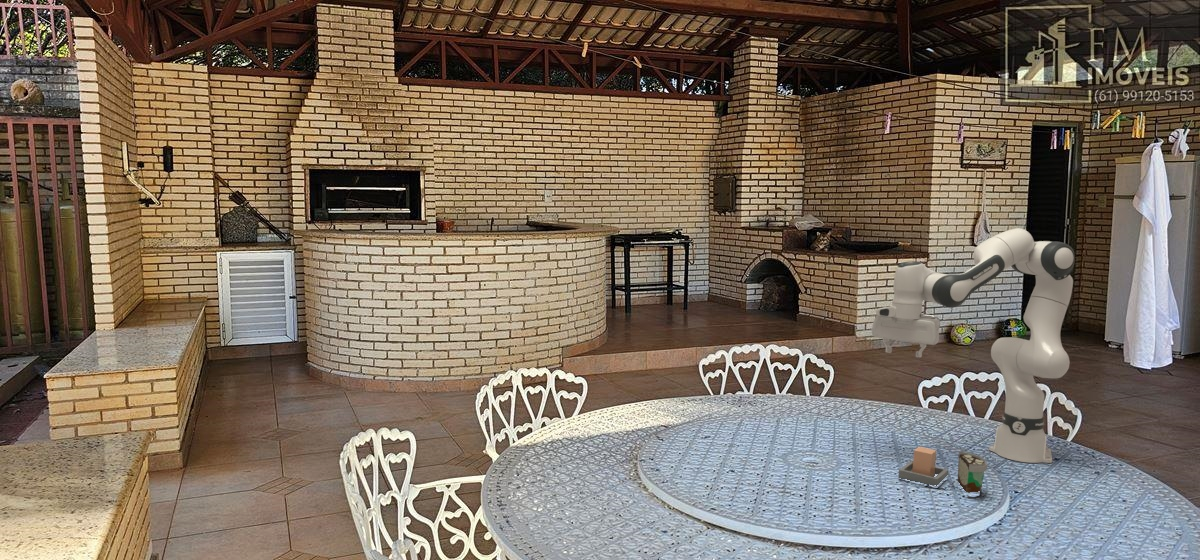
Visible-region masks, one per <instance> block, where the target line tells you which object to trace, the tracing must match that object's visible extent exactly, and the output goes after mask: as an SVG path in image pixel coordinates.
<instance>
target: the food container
mask: <svg viewBox="0 0 1200 560" xmlns="http://www.w3.org/2000/svg"><path fill="white" fill-rule="evenodd" d="M957 458H958V463H957V464H958V465H957V481H958V482H959V483H960V485H961V486H962V487H963V489H964V490H965V491H966V492H968V493H970V492H978V491H980V490H981V491H982V486H983V482H984V476H985V474H984V473H985V472H986V471H987V470H988V464H987V461H986V459H985V458H984V457H982V456H979V455H977V454H974V453H971V452H965V451H958V456H957Z"/></svg>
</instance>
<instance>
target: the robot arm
mask: <svg viewBox="0 0 1200 560" xmlns="http://www.w3.org/2000/svg"><path fill="white" fill-rule="evenodd" d="M1075 257H1076V256H1075V251H1074V249H1073V247H1071V245H1069V244H1067V243H1065V242H1061V241H1050V240H1043V241H1042V240H1039V241H1035V240H1034V238H1033V236H1032V234H1031V233H1030V232H1029V231H1027V230H1026V229H1024V228H1021V227H1019V228H1018V227H1017V228H1016V227H1015V228H1011V229H1008V230H1005V231H1003V232H999V233H997V234H995V235H993V236H991V237H989V238H988V239H985V240H983V241H982V242H980V243H979V244H978V245H977V246H976V247H975V248H974V250H973V261H974V264H975V265H974V266H972V267H970V268H969V269H968V270H966V271H964V272H963V273H960V274H947V273H941V272H937V271H935V270H932V269H930V268H928V267H927V266H926V265H925V264H923V262H922V261H918V260H917V261H916V260H913V261H911V260H910V261H904V262H901V263H899V264H898V265H897V267H896V268H895V272H894V278H893V293H894V294H893V299H892V302H891V303H892V304H891V305H887V306H884V307H879V308H877V309H876V312H875V313H876V316H875V317H874V319H873V323H872V327H871V335H872V336H873V338H878V339H882V343H883V345H884V347H885V353H888V354H892V352H893V347H892V346H890V345H889V342H890V340H894V341H901V342H908V343H914V344H919V350H917V351H915V358H922V357H923V352H924V350H925V349H926V348H927V345H930V346H931V345H932V346H935V345H937V344H938V343H939V341H940V334H939V333H940V331H939V329H940V327H941V320H940V318H939V317H938V316H936V315H934V314H932V315H930V314H926V313H923V312H922V311H923V310H922V309H923V302H924V301H926V302H930V303H934V304H937V305H941V306H944V307H946V308H951V309H952V308H957V307H959V306H961V305H963V304H964V303H965V302H966V301H967V300H968V298H969V297H970V296H971V295H972V294H973V292H975V291H977V290H978V289H980V288H981V287H982V286H985V285H987V283H989V282H990V281H992V280H993V279H995V278H996V277H998V276H1000V274H1001V273H1002V272H1003V271H1005V270H1006V269H1008V268H1011V269H1013V271H1015V272H1017V273H1020V274H1024V275H1034V276H1035V286H1034V287H1033V290H1032V293H1031V294H1030V297H1029V301H1028V303H1027V306H1026V308H1025V312H1024V314H1023V317H1022V318H1023V322H1024V323H1025V324H1026V326H1027V327H1028V328H1029V329H1030V337H1029V339H1025V338H1020V337H1010V336H1009V337H1008V336H1007V337H1000V338H998V339H996V340H995V341H994V342H993V344H992V345H991V349H990V356H991V360H992V361H993V362H994V363H995V364H996V366H997V367H998V369H999V371H1000V373H1001V375H1002V377H1003V382H1004V386H1005V404H1004V411H1003V412H1002V416H1001V417H1002V419H1001V420H1002V423H1001V424H1000V425H998V426H997V427H996V431H995V432H996V433H995V439H994V444H993V445H990V446H989V447H988V450H989V451H991V452H993V453H995V454H996V455H998V456H1000V457H1001V458H1004V459H1008V460H1012V461H1015V462H1022V463H1030V464H1031V463H1033V464H1037V463H1044V464H1051V463H1052V464H1053V456H1052V450H1051V448H1050V447H1049V446H1048V445H1047V438H1048V437H1047V436H1046V433H1045V431H1044V426H1045V417H1044V406H1045V405H1044V404H1045V393H1044V391H1043V390H1042V388H1040V386H1038V385H1037V383H1036V381H1035V378H1034V377H1038V378H1042V379H1061V378H1063V376H1064V375H1066V373H1067V372H1068V370H1069V368H1070V363H1071V362H1070V357H1069V354H1068V353H1067V351H1065V348H1064V347H1063V344H1062V339H1061V330H1062V326H1063V322H1064V319H1065V315H1066V313H1067V310H1068V307H1069V304H1070V301H1071V297H1072V293H1073V287H1074V286H1073V285H1074V279H1073V277H1072V276H1071V273H1072V272H1073V269H1074V265H1075V261H1076V260H1075V259H1076V258H1075Z"/></svg>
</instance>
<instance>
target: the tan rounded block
mask: <svg viewBox="0 0 1200 560" xmlns="http://www.w3.org/2000/svg"><path fill="white" fill-rule="evenodd" d="M912 459H913V470H912V472H914V473H919V474H923V475H927V476H931V477H934V476H935V467H936V461H937V450H936V449H933V448H927V447H923V446H918V447H917V448H915V449H914V450H913V458H912Z"/></svg>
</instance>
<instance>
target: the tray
mask: <svg viewBox="0 0 1200 560" xmlns="http://www.w3.org/2000/svg"><path fill="white" fill-rule="evenodd" d="M912 470H913V461H912V460H910V461H909V462H907V463H906V464H904V466H902V467H901V468H900V469H898V477H897V478H901V479H907V480H910V481H915V482H920V483H924V484H930V485H936V486H937V485H938V484H939V483H940V482H941V481H942V480H943V479H944V478H945V477H946V476H947V475H948V476H949V469H948V468H943V467H938V466H935V474H938V475H937V476H936V477H931V476H927V475H923V474H919V473H914V472H912Z"/></svg>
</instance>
